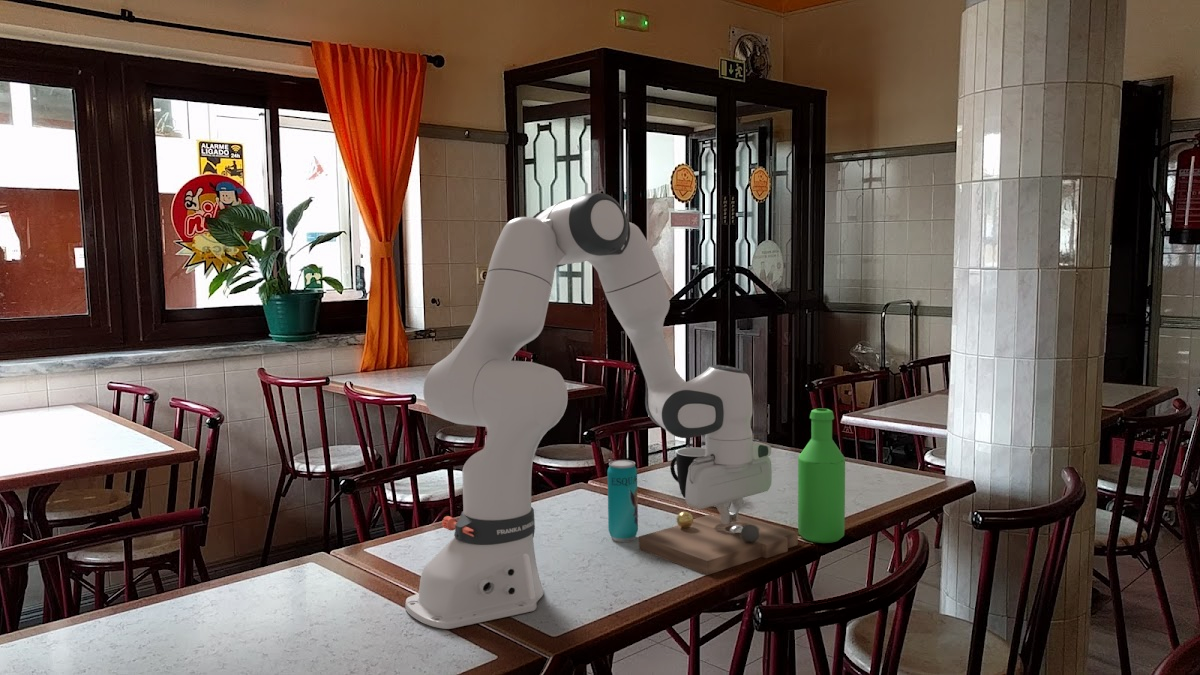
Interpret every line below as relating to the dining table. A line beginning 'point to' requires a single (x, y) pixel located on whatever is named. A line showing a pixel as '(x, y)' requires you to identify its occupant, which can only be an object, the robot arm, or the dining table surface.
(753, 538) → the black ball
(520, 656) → the dining table surface
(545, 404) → the robot arm
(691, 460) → the mug
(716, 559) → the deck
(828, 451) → the bottle
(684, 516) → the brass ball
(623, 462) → the beverage can
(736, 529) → the steel ball
